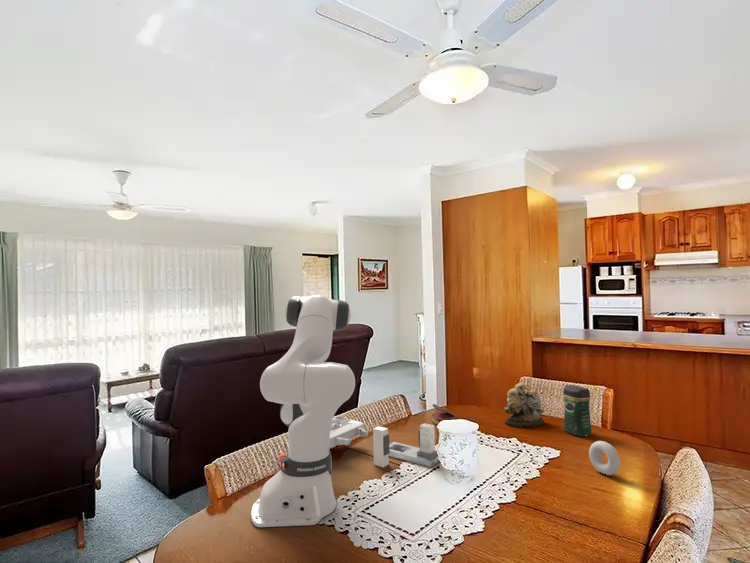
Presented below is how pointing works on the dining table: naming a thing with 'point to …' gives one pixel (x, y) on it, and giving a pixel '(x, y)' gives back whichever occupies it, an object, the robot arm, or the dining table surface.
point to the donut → (611, 455)
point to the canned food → (441, 415)
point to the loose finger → (381, 446)
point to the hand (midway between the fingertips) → (358, 438)
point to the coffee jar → (577, 410)
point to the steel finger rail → (418, 455)
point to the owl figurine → (523, 407)
